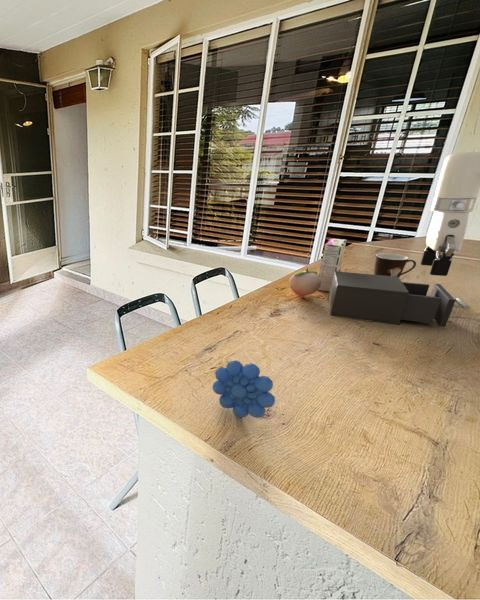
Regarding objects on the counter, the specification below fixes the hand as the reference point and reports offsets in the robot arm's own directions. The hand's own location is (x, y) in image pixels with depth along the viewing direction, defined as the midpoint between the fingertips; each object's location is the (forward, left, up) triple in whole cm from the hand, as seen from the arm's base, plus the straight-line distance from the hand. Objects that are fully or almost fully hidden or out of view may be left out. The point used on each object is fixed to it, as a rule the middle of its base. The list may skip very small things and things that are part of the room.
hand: (432, 269), depth 94 cm
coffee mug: (+2, -31, -15) cm, 34 cm away
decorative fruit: (+28, -6, -15) cm, 32 cm away
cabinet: (+13, 0, -14) cm, 19 cm away
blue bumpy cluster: (+37, +65, -15) cm, 76 cm away
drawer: (+1, 0, -13) cm, 13 cm away
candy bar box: (+21, -20, -15) cm, 32 cm away
